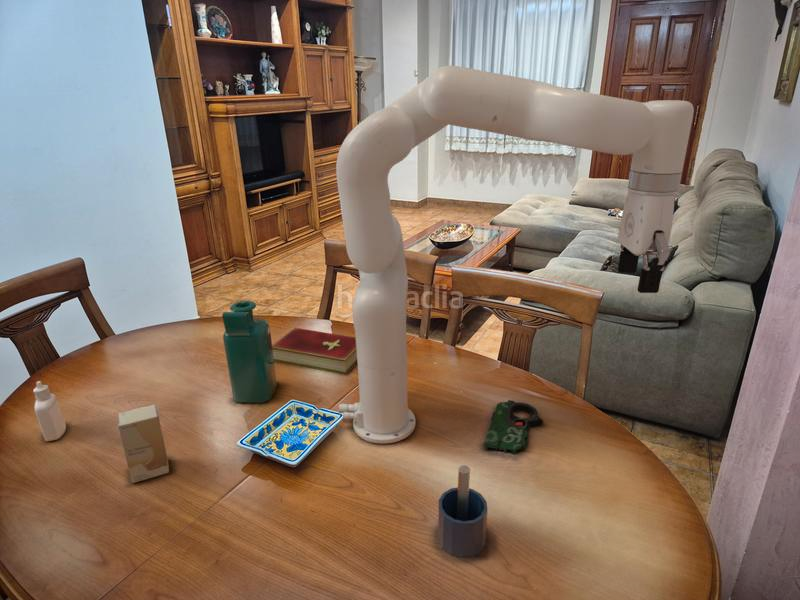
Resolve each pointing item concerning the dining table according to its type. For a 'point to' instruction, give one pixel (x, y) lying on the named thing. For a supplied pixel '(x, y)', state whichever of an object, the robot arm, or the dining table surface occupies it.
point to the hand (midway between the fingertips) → (636, 281)
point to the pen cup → (462, 524)
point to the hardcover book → (316, 350)
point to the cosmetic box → (143, 443)
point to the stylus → (463, 493)
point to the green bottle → (249, 354)
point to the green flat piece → (510, 427)
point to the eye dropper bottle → (48, 413)
